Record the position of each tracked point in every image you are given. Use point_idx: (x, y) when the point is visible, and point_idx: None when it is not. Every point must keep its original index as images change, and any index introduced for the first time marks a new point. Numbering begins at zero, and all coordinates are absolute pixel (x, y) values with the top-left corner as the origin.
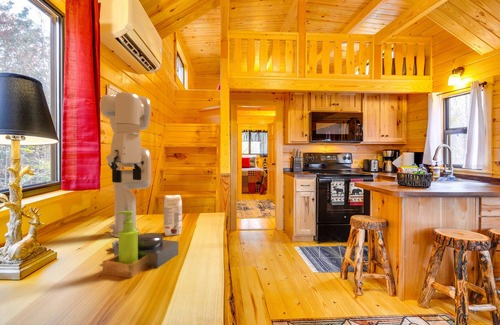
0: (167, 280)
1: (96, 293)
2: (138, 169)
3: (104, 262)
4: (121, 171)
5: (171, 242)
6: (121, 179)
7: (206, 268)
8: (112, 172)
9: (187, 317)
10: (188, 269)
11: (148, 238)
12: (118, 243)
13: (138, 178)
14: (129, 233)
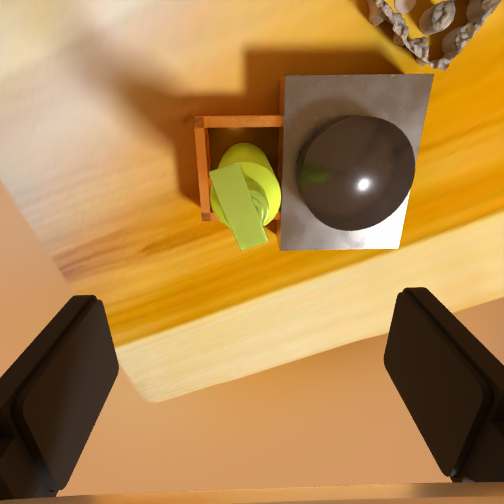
0: (225, 289)
1: (115, 189)
2: (449, 463)
3: (194, 125)
4: (57, 486)
5: (384, 233)
6: (102, 394)
7: (303, 331)
8: (5, 379)
9: (133, 372)
10: (288, 302)
11: (341, 192)
12: (381, 4)
13: (390, 360)
14: (223, 221)
